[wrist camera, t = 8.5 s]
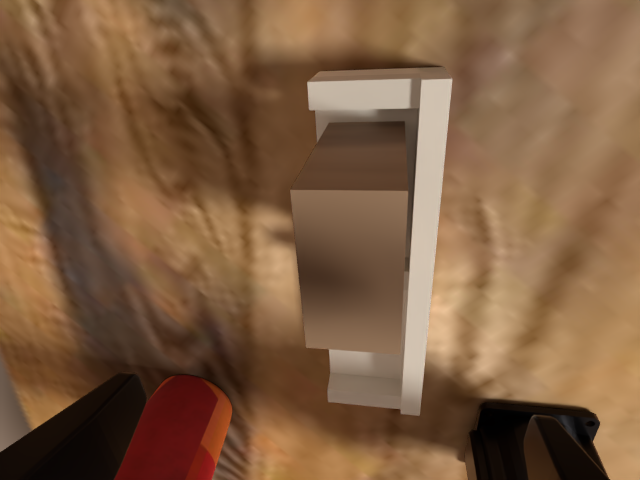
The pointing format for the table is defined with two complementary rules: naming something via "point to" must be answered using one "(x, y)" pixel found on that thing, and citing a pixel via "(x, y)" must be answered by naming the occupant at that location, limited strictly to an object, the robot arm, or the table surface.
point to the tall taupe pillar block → (353, 237)
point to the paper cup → (179, 432)
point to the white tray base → (422, 218)
